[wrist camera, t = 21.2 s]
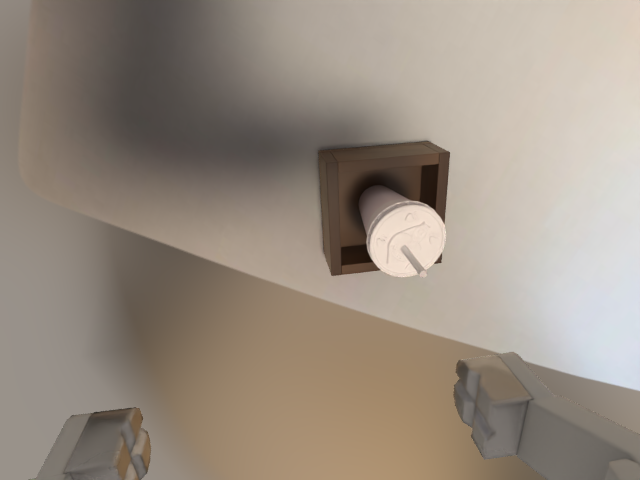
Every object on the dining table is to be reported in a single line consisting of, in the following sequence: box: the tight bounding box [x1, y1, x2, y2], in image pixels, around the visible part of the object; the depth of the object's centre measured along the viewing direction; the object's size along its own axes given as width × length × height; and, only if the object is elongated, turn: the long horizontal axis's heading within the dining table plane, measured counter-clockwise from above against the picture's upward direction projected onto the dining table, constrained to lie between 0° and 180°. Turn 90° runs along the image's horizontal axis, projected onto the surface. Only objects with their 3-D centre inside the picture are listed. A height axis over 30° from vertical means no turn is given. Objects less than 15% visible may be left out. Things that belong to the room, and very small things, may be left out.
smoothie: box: [359, 185, 446, 278], centre depth 35 cm, size 6×6×14 cm
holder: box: [318, 141, 450, 276], centre depth 40 cm, size 11×11×5 cm
